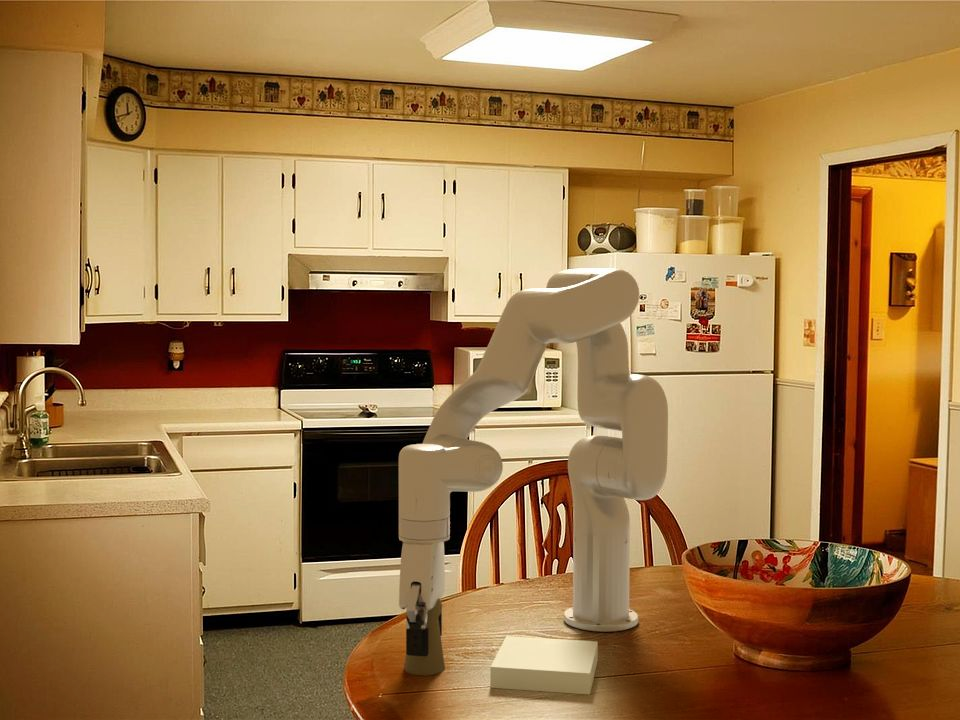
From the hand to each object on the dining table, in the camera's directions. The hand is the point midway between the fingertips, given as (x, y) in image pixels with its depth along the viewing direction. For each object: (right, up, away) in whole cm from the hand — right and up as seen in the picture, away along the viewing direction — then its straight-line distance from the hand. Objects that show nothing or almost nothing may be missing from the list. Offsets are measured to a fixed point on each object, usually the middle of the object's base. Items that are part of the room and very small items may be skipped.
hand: (424, 645), depth 158 cm
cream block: (+18, -4, -2) cm, 18 cm away
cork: (0, -4, 0) cm, 4 cm away
